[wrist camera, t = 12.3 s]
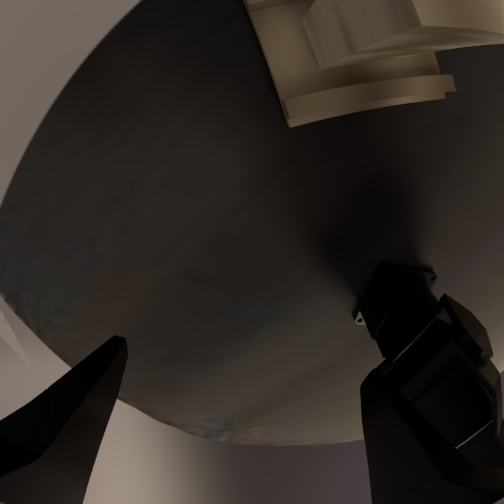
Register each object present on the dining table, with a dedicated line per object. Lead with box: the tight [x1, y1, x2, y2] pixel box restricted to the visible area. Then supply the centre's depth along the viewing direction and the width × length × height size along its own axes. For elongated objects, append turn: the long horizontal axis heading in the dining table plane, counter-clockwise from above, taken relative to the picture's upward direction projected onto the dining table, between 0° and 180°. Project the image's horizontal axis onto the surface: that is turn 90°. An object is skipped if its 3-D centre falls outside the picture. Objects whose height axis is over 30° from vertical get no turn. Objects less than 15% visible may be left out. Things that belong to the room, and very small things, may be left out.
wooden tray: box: [243, 0, 456, 128], centre depth 14 cm, size 12×10×2 cm
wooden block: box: [302, 0, 504, 70], centre depth 9 cm, size 6×4×12 cm, turn 108°
